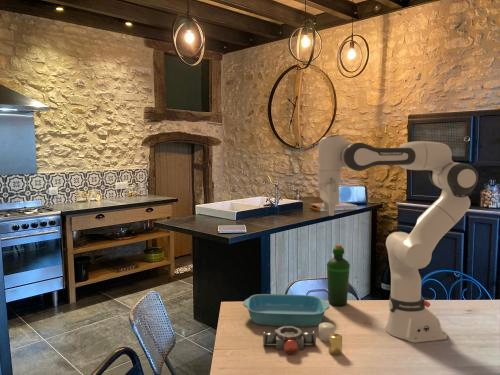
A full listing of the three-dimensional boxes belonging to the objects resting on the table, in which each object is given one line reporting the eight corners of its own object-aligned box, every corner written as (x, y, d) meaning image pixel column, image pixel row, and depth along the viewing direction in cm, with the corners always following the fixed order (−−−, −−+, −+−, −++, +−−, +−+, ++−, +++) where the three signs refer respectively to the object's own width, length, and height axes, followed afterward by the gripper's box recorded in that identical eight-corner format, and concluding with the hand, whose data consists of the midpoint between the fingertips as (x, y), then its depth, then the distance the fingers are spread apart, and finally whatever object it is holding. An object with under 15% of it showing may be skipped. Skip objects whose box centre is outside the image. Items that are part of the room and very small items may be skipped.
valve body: (312, 338, 153) (312, 325, 153) (318, 355, 141) (318, 340, 141) (262, 339, 153) (262, 326, 153) (264, 355, 141) (264, 341, 141)
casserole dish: (325, 308, 183) (325, 293, 182) (332, 330, 161) (332, 313, 160) (245, 307, 185) (245, 292, 184) (241, 329, 163) (241, 312, 162)
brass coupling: (340, 349, 145) (340, 333, 145) (343, 355, 141) (343, 339, 140) (327, 349, 145) (327, 333, 145) (330, 356, 141) (330, 339, 140)
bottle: (352, 301, 190) (353, 244, 188) (344, 309, 182) (345, 249, 179) (331, 297, 196) (331, 241, 194) (322, 304, 187) (323, 246, 185)
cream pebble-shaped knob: (332, 334, 157) (332, 322, 157) (336, 342, 151) (336, 329, 151) (317, 334, 157) (317, 322, 157) (320, 342, 151) (320, 329, 151)
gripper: (343, 179, 143) (343, 217, 144) (332, 175, 163) (331, 209, 165) (326, 179, 143) (325, 218, 144) (316, 176, 163) (316, 209, 165)
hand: (328, 213), depth 154 cm, fingers open, 8 cm apart
